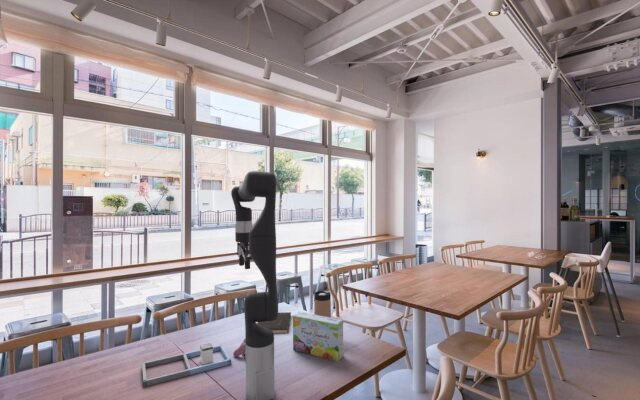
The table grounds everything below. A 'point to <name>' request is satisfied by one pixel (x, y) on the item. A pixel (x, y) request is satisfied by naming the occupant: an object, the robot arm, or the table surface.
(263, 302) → the robot arm
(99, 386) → the table surface
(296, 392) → the table surface
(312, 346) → the snack box
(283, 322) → the hardcover book
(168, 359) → the two-cell open frame
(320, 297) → the travel mug
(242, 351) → the video game controller
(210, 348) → the grey rectangular block
